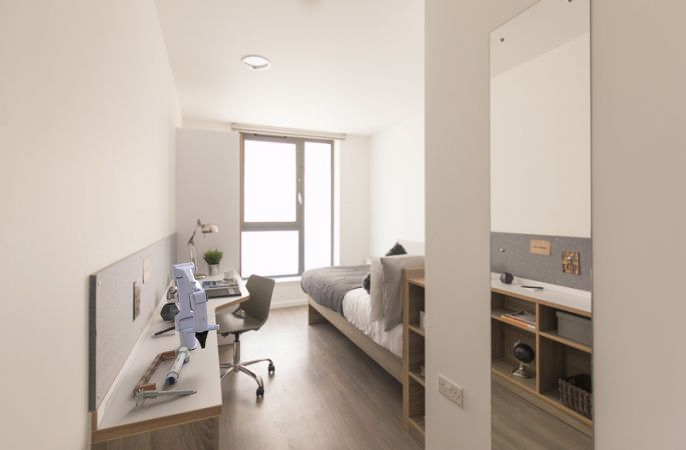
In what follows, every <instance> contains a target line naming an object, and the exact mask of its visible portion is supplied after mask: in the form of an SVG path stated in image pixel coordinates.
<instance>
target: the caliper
mask: <svg viewBox="0 0 686 450" xmlns="http://www.w3.org/2000/svg"><path fill="white" fill-rule="evenodd" d="M140 392H141V393H140ZM197 392H198V390H197V389H194V388H191V389H190V388H188V389H174V390H173V389H172V390H158V389H157V390H156V391H144V392H143V389H142V390H141V391H140V389H139V391H138V392H137V393H136V395H135V398H134V401H135V402H134V403H135V406H136V407H138V406H139V401H140V399H142V401H141V406H144V404H145V403H146V401H147V399H150V400H157V399H158V397H168V396H169V397H171V396H179V395H180V396H183V395H190V394H194V393H195V394H196V393H197Z"/></svg>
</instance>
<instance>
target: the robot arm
mask: <svg viewBox="0 0 686 450" xmlns="http://www.w3.org/2000/svg"><path fill="white" fill-rule="evenodd" d="M170 273H171V278H172V280H173V281H176V285H177V293H178V295H179V303H178V304H179V311H180V312H179V313H178V314H177V315H176V316H175V319H174V328H175V329H174V330H175V331H176V332H177V333H178V334H179V335H178V336H179V345H180V347H179V349H177V351H178V352H179V350H180V348H182V347H186V348H187V349H188V351H189V350H196V348H197V346H198V344H199V346H200V347H201V349H203V350H204V349H205V348H206V344H207V343H206V342H207V338H208V335H209V332H212V331H220V324H209V319H208V318H209V315H208V305H207V303H208V302H209V296H208V292H207V289H205V288H203V287H202V285H201V283H200V282H199V281H198V280H197V279H196V278H195V276H194V275H195V273H196V265H195V264H194V262H193V261H190V262H186V263H185V262H184V263H180V264H178V263H177V264H172V265H171V267H170ZM189 295H190V302H191V307H192V309H193V311H191V310H190V303H189Z"/></svg>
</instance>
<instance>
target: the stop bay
mask: <svg viewBox="0 0 686 450" xmlns="http://www.w3.org/2000/svg"><path fill="white" fill-rule="evenodd" d="M176 356H177V354H176V350H175V349H174V350H166V351H162V352H161V353H157V355H156V356H155V357H154V358H153V360H152V361H151V363H150V365H149V366H148V367H147V369H146V370H145V371H144V374H143V375H142V376H141V378H140V379H139V381H137V383H136V385H135V386H134V387H133V396H135V397H136V393H137V392H138V391H139V389H140V391H141V390H142V389H143V392H144V391H156V390H158V389H157V382H152V383H149V381H150V380H151V378H152V376H153V375H154V374H155V372H156V370H158V367H159V365H160V364H161V362H162V361H163V360H168V359H173V358H174V359H175V358H176ZM140 393H141V392H140Z"/></svg>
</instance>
